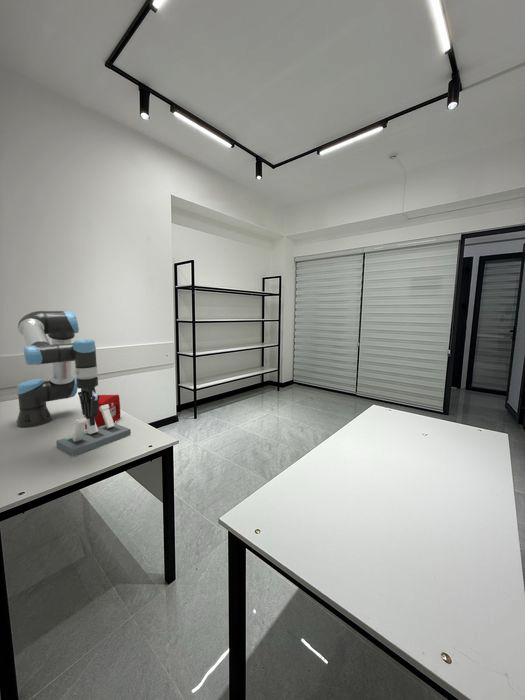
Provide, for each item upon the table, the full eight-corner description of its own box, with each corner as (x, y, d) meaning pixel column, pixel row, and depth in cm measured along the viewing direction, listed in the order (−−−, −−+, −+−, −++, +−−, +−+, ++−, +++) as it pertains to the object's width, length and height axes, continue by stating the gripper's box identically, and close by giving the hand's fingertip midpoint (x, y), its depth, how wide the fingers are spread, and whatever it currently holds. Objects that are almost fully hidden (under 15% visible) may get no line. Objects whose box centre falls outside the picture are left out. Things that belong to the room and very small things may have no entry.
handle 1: (89, 434, 136) (81, 412, 138) (97, 432, 139) (89, 409, 141) (91, 433, 135) (83, 410, 137) (99, 430, 138) (91, 408, 140)
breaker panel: (56, 446, 131) (56, 440, 130) (113, 427, 152) (112, 422, 152) (73, 456, 122) (73, 449, 122) (130, 435, 144) (130, 429, 143)
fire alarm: (105, 429, 150) (103, 401, 148) (84, 429, 150) (82, 401, 148) (121, 418, 166) (119, 393, 164) (102, 418, 166) (100, 393, 164)
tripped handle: (71, 438, 129) (75, 419, 124) (80, 436, 132) (84, 417, 127) (74, 442, 128) (78, 423, 123) (82, 439, 131) (87, 420, 126)
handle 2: (106, 429, 143) (98, 407, 145) (113, 426, 146) (106, 405, 148) (108, 427, 141) (100, 405, 143) (115, 425, 144) (108, 404, 146)
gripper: (69, 377, 119) (74, 431, 122) (85, 381, 112) (90, 439, 115) (88, 373, 125) (92, 426, 128) (104, 377, 118) (108, 432, 121)
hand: (91, 432), depth 121 cm, fingers closed
